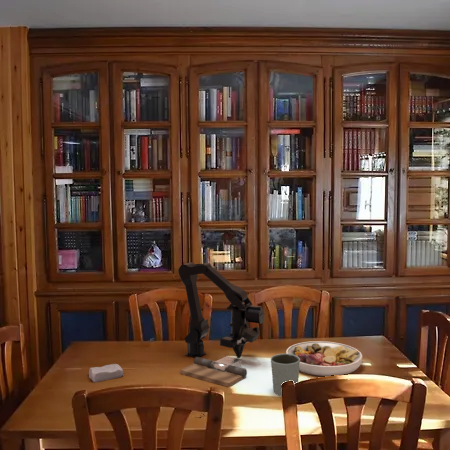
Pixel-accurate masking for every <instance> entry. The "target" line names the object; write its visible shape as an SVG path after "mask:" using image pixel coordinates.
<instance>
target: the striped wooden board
mask: <svg viewBox="0 0 450 450" xmlns="http://www.w3.org/2000/svg"><path fill="white" fill-rule="evenodd" d="M212 361H213V360H211V359H207V358H204V357H196V358H195V357H194V360H193V363H192V364H190V365H187V366H186V367H183V368H181V369H180V370H179V371H180V374H179V375H184V376H187V377H192V378H195V379H197V380H202V381H205V382H210V383H211V384H217V385H220V386H224V387H226V388H231V387H232V386H233V385H235V384H238V383H239V382H240V381H242V380H243V379H245V378H246V377H247V374H248V370H247V369H246V368H244V367H236V366H232V365H229V366H228V367H227V370H226V372H221V371H217V370H213V369H210V364H211V362H212Z"/></svg>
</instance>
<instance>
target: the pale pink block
mask: <svg viewBox="0 0 450 450" xmlns="http://www.w3.org/2000/svg"><path fill="white" fill-rule="evenodd" d="M229 365H232V366H236V367H240V368H243V365H242V359H241V358H236V357H233V356H229V355H226V356H224V357H222V358H220V359H217V360H212V362H211V364H210V369H213V370H217V371H221V372H226V370H227V367H228V366H229Z"/></svg>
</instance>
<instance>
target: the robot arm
mask: <svg viewBox="0 0 450 450" xmlns="http://www.w3.org/2000/svg"><path fill="white" fill-rule="evenodd" d="M177 270H178V276H179V277H180V280H181V282H182V284H184V286H185V292H186V298H187V304H188V309H189V314H190V323H189V326H188V327H189V333H188V334H187V335H185V336H184V338H183V339H184V340H185V341H184V342H185V344H186V343H187V353H184V355H185V356H187V357H190V358H191V357H192V358H194V359H195V358H196V357H199V358H201V357H202V356H205V355H206V354H207V353H206V352H205V344H204V339H205V338H206V336H207V335H208V333H209V331H210V330H209V329H210V328H211V327H210V326H209V319H208V318H204V316H203V314H202V313H203V312H202V307H201V302H200V297H199V291H198V286H197V280H198V276H199V275H201V274H202V275H204V276H205V277H206V278H207V279H208V280H210V282H212V283H213V284H214V285H215V286H216V287H217V288H218V289H220V291H222V292H223V294H224V295H225V299H227V301H228V302H229V305H228V306H227V307H226V310H229V311H231V322H230V323H229V327H231V332H230V333H229V336H224V337H222V338H221V339H220V340H219V346H221V347H225V348H230V349H232V350H233V352H234V354H235V355H236V357H237V359H241V358H242V354H243V352H244V347H245V345H246V344H247V343H253V342H255V341H257V339H258V337H259V336H261V334H260V327H258V326H255V327H251V328H250V327H249V323H255V324H263V323H264V321H265V311H264V310H263V309H264V308H263V306H262V305H254V304H253V303H252V301H251V299H250V298H249V297H248V293H247V291H246V290H245V289H244V288H242V287H240V286H237V285H235V284H234V283H232V282H230V281H229V280H228V279H227V278H225V276H224V275H222V274H221V273H220V272H219V271H218V270H217V269H215V268H214V267H213V266H212V265H211V263H208V262H206V263H194V262H187V263H184V264H182V265H180V266H179V267H178V269H177ZM230 336H231V337H230Z"/></svg>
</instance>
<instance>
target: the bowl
mask: <svg viewBox="0 0 450 450" xmlns="http://www.w3.org/2000/svg"><path fill="white" fill-rule="evenodd" d="M285 354H292V355H296V356H298V357H299V358H300V364H299V372H302V373H305V374H308V375H312V376H320V377H332V376H331V375H339V376H344V374H345V375H347V374H351V373H353V372H355V371H356V370H358V369H359V367H360V366H361V365H362V362H363V354H362V352H361V351H359V350H358V349H357V348H356V347H353V346H350V345H348V344H344V343H340V342H333V341H327V340H326V341H325V340H324V341H323V340H319V341H317V340H315V341H314V340H312V341H303V342H298V343H295V344H292V345H290V346H289V347H287V348H286V351H285Z"/></svg>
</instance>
